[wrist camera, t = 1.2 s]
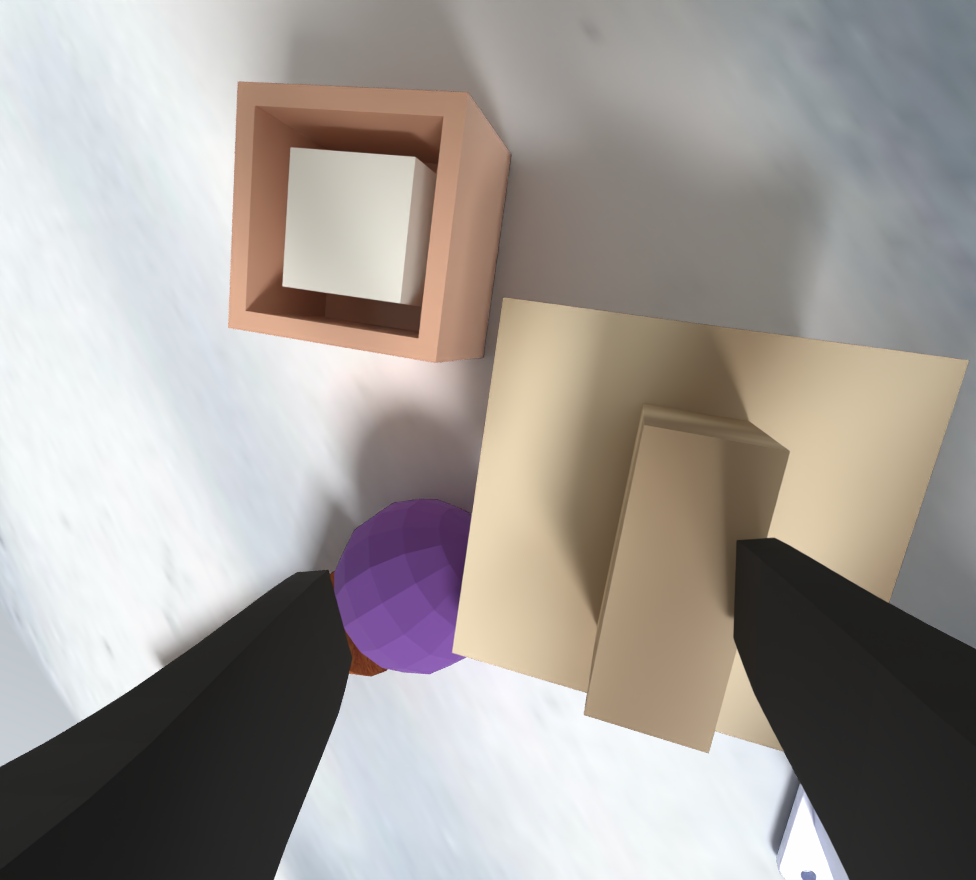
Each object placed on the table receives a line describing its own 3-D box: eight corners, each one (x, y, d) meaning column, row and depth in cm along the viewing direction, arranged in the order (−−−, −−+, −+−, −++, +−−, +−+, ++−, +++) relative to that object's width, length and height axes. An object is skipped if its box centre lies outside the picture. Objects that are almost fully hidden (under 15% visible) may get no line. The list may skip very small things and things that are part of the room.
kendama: (78, 707, 24) (390, 479, 16) (200, 652, 29) (478, 461, 22) (129, 840, 23) (490, 664, 15) (246, 757, 28) (557, 596, 21)
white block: (460, 193, 19) (415, 157, 15) (445, 310, 20) (400, 303, 16) (356, 184, 20) (290, 147, 16) (347, 296, 21) (282, 286, 17)
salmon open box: (511, 154, 19) (468, 92, 14) (483, 357, 20) (435, 362, 16) (331, 141, 20) (237, 81, 16) (317, 330, 22) (228, 327, 17)
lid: (939, 358, 12) (1112, 368, 8) (819, 733, 15) (901, 912, 10) (514, 300, 15) (457, 282, 10) (464, 631, 17) (400, 739, 12)
